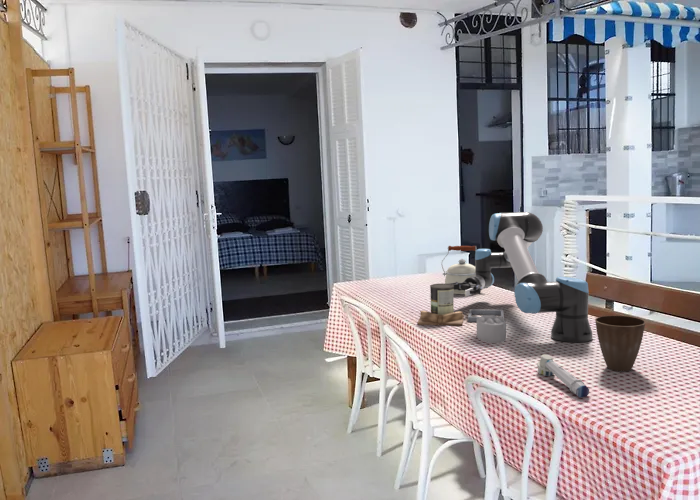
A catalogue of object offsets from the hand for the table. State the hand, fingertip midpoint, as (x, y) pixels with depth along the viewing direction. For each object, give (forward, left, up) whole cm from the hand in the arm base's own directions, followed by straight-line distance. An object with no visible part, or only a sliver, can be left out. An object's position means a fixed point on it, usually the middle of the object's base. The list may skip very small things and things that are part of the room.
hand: (452, 292), depth 284 cm
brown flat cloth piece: (-11, +4, -11) cm, 16 cm away
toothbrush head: (-86, -40, -11) cm, 95 cm away
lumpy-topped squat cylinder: (-37, -18, -11) cm, 43 cm away
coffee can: (-8, +4, -10) cm, 13 cm away
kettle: (+53, -3, -11) cm, 54 cm away
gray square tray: (-4, -15, -11) cm, 19 cm away
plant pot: (-68, -59, -11) cm, 91 cm away
